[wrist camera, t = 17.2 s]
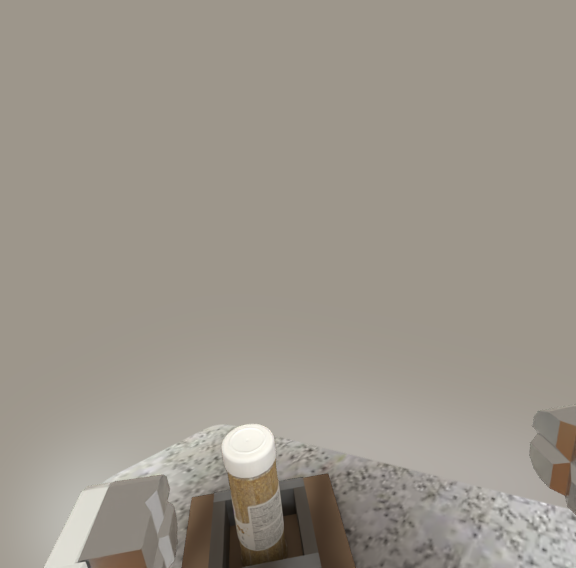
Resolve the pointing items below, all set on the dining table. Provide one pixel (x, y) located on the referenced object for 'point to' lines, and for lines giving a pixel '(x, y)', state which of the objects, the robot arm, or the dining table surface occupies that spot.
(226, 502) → the socket base
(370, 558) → the dining table surface
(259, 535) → the sprinkles bottle
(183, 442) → the dining table surface
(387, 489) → the dining table surface
